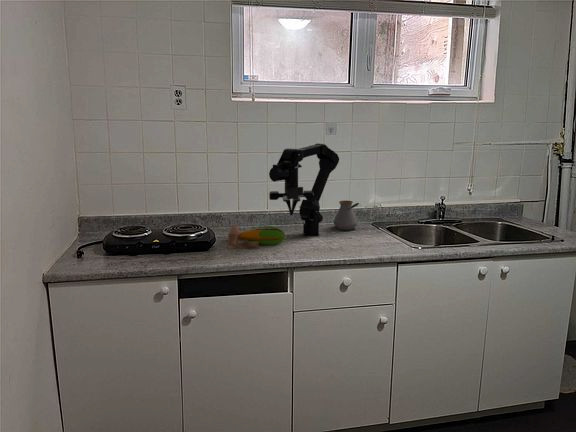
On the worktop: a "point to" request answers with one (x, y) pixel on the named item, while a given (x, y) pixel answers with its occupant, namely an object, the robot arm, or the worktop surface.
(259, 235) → the corn
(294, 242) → the worktop surface
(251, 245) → the guide bay
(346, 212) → the coffee pot
